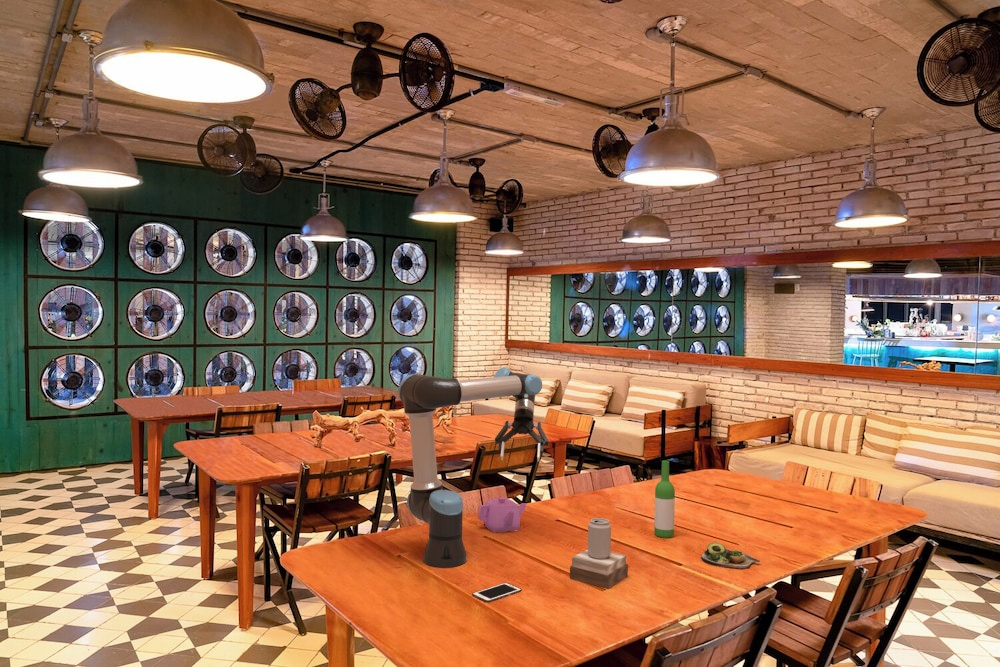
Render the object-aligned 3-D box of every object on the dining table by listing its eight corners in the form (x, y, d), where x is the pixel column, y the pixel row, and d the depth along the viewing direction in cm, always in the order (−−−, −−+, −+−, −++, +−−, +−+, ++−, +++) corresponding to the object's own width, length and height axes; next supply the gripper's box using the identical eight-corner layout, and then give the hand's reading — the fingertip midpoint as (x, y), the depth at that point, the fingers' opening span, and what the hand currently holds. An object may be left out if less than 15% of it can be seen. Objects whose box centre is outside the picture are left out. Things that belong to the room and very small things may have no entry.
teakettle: (491, 519, 290) (491, 491, 290) (528, 525, 284) (528, 495, 284) (473, 530, 275) (474, 500, 275) (512, 536, 268) (513, 505, 268)
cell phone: (470, 596, 207) (470, 593, 207) (506, 585, 217) (506, 582, 217) (487, 604, 202) (487, 601, 202) (523, 592, 211) (523, 589, 211)
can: (595, 550, 230) (595, 515, 230) (614, 555, 225) (615, 519, 225) (583, 556, 224) (584, 520, 224) (603, 561, 219) (603, 524, 219)
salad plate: (763, 559, 246) (764, 547, 246) (755, 574, 231) (755, 561, 231) (709, 550, 256) (709, 537, 256) (697, 563, 241) (698, 550, 241)
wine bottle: (672, 533, 275) (673, 459, 275) (675, 539, 268) (676, 463, 268) (652, 532, 276) (654, 458, 276) (655, 538, 268) (656, 462, 268)
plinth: (607, 588, 214) (608, 566, 214) (569, 578, 223) (570, 557, 223) (627, 576, 226) (628, 555, 226) (590, 567, 234) (591, 546, 234)
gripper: (556, 420, 267) (553, 466, 252) (493, 418, 270) (487, 463, 255) (555, 408, 262) (553, 454, 247) (491, 406, 265) (485, 451, 250)
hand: (520, 459), depth 251 cm, fingers open, 13 cm apart
